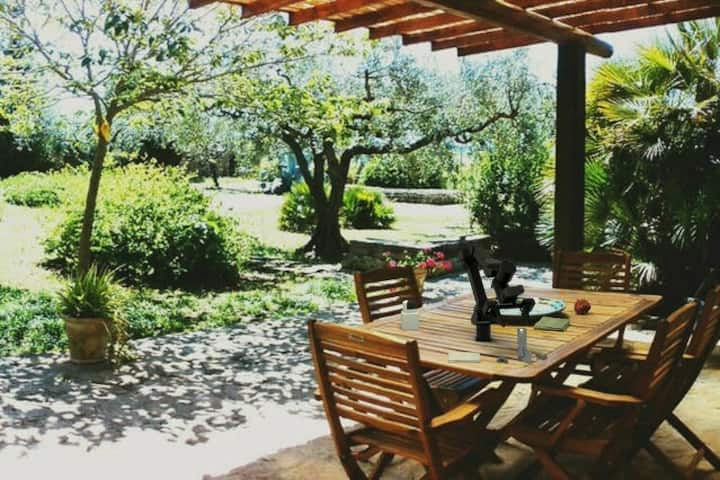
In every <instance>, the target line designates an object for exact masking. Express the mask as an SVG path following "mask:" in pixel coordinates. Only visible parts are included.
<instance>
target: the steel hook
mask: <svg viewBox="0 0 720 480" xmlns="http://www.w3.org/2000/svg"><path fill="white" fill-rule="evenodd" d="M516 331H517V332H516V333H517V334H516V335H517V336H516V337H517V338H516V340H517V343H516V344H517V348H516V349H517V352H516V353H517V359H516V360H517V361H520V362H522V361H523V363H524V362H525V364H526V363H528V364H532V351H530V350H528V347H527V346H528V340H527V339H528V335H527V334H528V328H526V327H518V328H517V330H516ZM528 364H527V365H528Z"/></svg>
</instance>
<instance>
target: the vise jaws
mask: <svg viewBox="0 0 720 480" xmlns="http://www.w3.org/2000/svg"><path fill="white" fill-rule="evenodd" d="M535 357H536V358H537V359H540V360H541V361H546V359H548V356H547V355H543V354H542V353H539V352H537V353H535ZM496 362H497V363H498V362H499V363H503V362H504V364H509V359H508V358H506V357H504V356H498V359H496Z"/></svg>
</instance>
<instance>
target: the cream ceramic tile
mask: <svg viewBox="0 0 720 480" xmlns="http://www.w3.org/2000/svg"><path fill="white" fill-rule="evenodd" d="M480 354H481V353H480V352H467V351H466V352H460V351H459V352H458V351H457V352H454V351H453V352H449V351H448V362H449V361H462V362H461V363H471V362H482V361H481V360H482V359H481V355H480Z"/></svg>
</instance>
